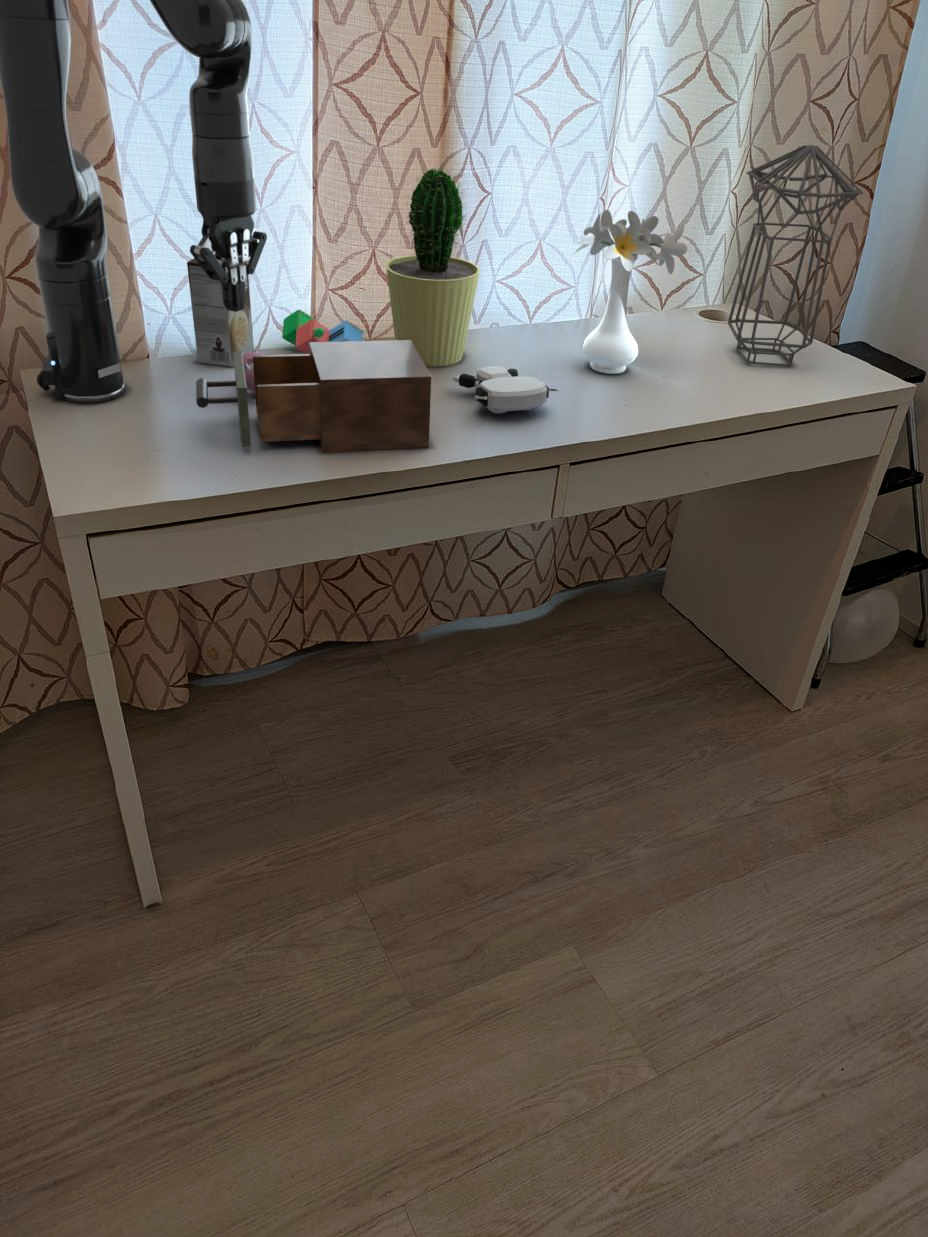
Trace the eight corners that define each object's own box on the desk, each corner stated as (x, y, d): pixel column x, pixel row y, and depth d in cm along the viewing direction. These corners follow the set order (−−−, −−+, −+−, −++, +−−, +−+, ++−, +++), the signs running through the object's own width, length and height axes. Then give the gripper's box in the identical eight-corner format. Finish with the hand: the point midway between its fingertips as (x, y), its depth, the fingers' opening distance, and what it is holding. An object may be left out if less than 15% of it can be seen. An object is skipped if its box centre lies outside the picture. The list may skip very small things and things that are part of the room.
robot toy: (447, 394, 155) (486, 424, 143) (447, 366, 152) (487, 394, 140) (516, 386, 159) (559, 415, 147) (517, 359, 157) (562, 385, 145)
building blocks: (315, 378, 168) (363, 350, 160) (278, 356, 162) (326, 327, 155) (318, 339, 170) (365, 311, 163) (281, 317, 165) (328, 286, 157)
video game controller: (261, 388, 154) (238, 349, 150) (286, 376, 153) (264, 337, 150) (255, 413, 146) (231, 372, 142) (282, 400, 145) (258, 359, 141)
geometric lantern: (817, 376, 169) (876, 156, 149) (727, 370, 169) (774, 150, 149) (793, 346, 182) (845, 140, 162) (710, 341, 182) (751, 134, 162)
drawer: (200, 449, 129) (194, 389, 124) (199, 409, 140) (193, 352, 135) (343, 443, 133) (342, 384, 128) (331, 404, 144) (330, 349, 139)
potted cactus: (366, 349, 167) (366, 159, 150) (435, 334, 176) (443, 153, 159) (422, 377, 158) (428, 178, 141) (492, 360, 166) (506, 170, 150)
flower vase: (675, 372, 166) (703, 218, 152) (587, 386, 158) (609, 225, 144) (629, 348, 176) (651, 200, 162) (544, 360, 168) (560, 206, 154)
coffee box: (219, 345, 165) (210, 246, 156) (254, 349, 164) (248, 251, 155) (196, 362, 158) (185, 260, 149) (233, 367, 157) (225, 265, 148)
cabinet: (322, 452, 133) (320, 379, 127) (311, 410, 144) (309, 342, 139) (428, 447, 136) (431, 376, 130) (409, 406, 148) (411, 339, 142)
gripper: (236, 162, 130) (245, 293, 140) (164, 176, 121) (180, 315, 130) (280, 170, 127) (287, 304, 137) (210, 185, 118) (222, 327, 128)
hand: (234, 309), depth 134 cm, fingers closed
